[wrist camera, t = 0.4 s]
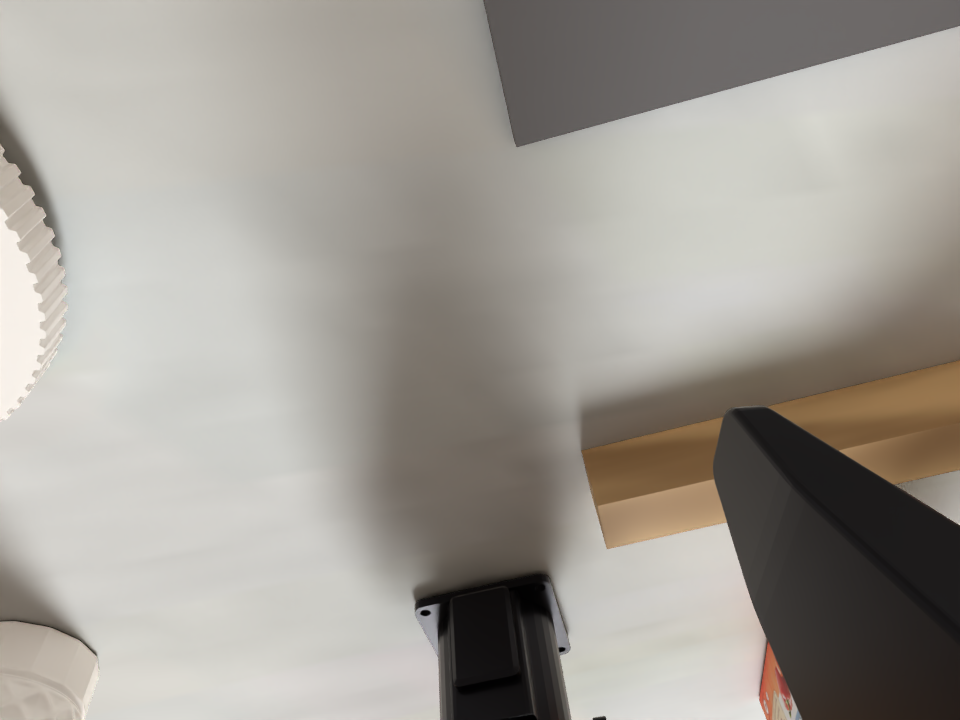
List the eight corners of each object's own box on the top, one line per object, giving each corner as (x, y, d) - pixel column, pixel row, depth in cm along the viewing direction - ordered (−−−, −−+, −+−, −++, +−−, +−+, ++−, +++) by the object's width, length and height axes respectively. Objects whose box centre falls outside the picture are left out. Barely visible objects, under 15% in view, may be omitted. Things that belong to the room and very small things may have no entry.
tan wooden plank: (1123, 395, 28) (1191, 446, 25) (596, 516, 29) (612, 574, 27) (1176, 271, 24) (1262, 316, 22) (573, 418, 26) (590, 474, 23)
